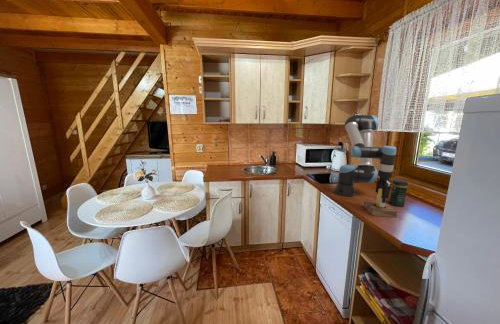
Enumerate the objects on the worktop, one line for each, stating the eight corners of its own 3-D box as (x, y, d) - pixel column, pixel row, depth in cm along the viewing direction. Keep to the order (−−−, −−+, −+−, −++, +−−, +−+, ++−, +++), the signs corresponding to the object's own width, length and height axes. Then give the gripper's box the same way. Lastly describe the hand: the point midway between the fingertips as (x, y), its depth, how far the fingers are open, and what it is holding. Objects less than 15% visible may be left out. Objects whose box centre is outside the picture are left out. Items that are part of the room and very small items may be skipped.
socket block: (363, 206, 144) (364, 201, 143) (384, 208, 142) (385, 202, 141) (372, 215, 130) (373, 209, 130) (396, 217, 129) (397, 211, 128)
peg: (374, 208, 138) (377, 188, 135) (381, 208, 138) (384, 188, 135) (377, 210, 134) (380, 190, 131) (384, 211, 133) (388, 190, 131)
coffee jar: (405, 207, 144) (410, 181, 140) (393, 206, 146) (397, 180, 142) (399, 202, 153) (404, 178, 149) (387, 200, 155) (391, 177, 151)
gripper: (373, 167, 139) (368, 199, 144) (386, 173, 123) (380, 210, 127) (385, 167, 139) (379, 200, 143) (399, 174, 122) (393, 211, 126)
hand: (379, 205), depth 135 cm, fingers closed on peg, 4 cm apart
